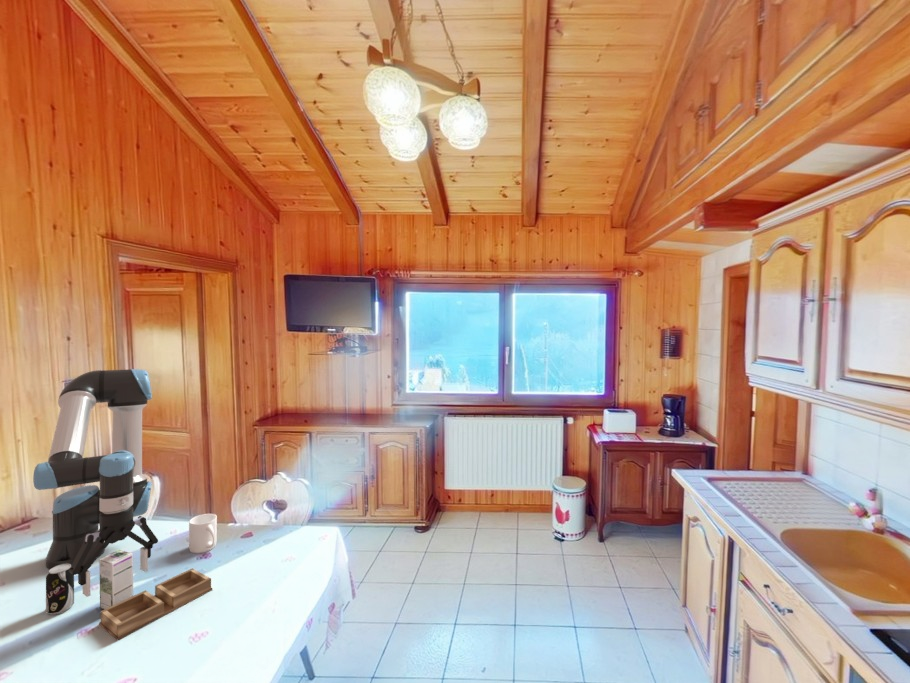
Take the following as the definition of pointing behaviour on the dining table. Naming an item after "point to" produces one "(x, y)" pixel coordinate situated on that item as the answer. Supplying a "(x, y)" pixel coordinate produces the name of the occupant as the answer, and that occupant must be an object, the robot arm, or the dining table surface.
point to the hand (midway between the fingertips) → (116, 581)
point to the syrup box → (115, 578)
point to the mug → (202, 533)
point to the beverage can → (59, 589)
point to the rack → (154, 603)
